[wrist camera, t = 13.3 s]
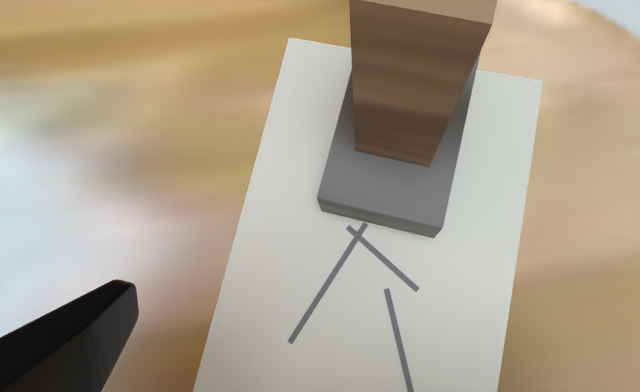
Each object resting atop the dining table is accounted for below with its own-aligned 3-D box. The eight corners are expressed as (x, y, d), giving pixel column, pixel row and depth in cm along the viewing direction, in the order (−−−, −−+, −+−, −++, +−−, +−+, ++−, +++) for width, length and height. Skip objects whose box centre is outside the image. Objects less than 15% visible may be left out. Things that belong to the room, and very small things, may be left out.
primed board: (454, 605, 20) (462, 628, 18) (168, 518, 21) (154, 532, 20) (532, 94, 25) (543, 80, 23) (293, 53, 26) (289, 36, 25)
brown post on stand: (433, 238, 22) (523, 135, 10) (321, 211, 23) (275, 83, 10) (469, 72, 24) (583, -191, 11) (364, 51, 24) (366, -218, 12)
